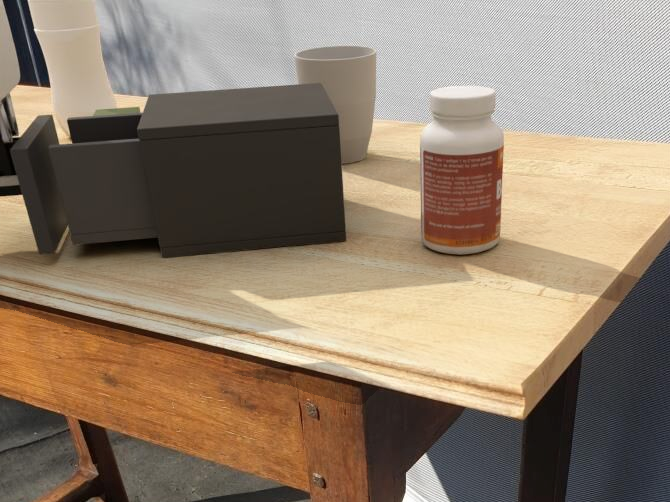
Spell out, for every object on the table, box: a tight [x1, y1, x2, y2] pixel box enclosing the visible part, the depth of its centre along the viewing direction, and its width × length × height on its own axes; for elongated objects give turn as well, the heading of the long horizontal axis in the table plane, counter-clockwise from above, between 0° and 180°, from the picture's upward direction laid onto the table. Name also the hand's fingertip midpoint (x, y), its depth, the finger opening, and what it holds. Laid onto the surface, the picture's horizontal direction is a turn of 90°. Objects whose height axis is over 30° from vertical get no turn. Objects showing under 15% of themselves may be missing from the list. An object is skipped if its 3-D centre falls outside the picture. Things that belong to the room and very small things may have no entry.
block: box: [93, 106, 142, 116], centre depth 89 cm, size 5×5×5 cm
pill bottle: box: [419, 85, 505, 256], centre depth 62 cm, size 6×6×11 cm
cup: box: [293, 45, 377, 165], centre depth 85 cm, size 8×8×10 cm
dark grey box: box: [137, 83, 347, 258], centre depth 68 cm, size 15×13×10 cm
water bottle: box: [27, 0, 118, 138], centre depth 93 cm, size 7×7×25 cm
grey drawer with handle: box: [0, 112, 158, 256], centre depth 67 cm, size 19×11×8 cm, turn 99°
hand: (11, 192), depth 67 cm, fingers closed
